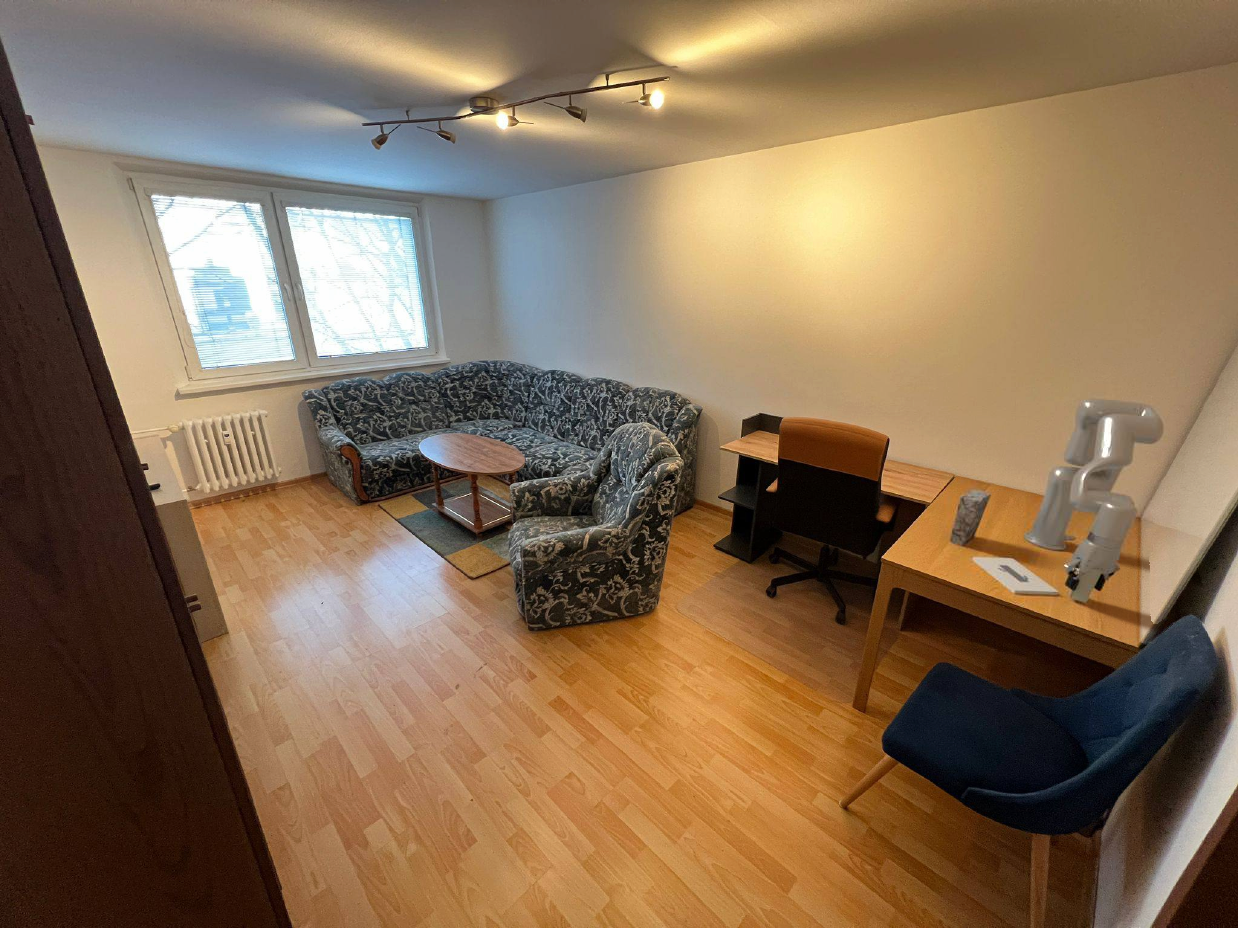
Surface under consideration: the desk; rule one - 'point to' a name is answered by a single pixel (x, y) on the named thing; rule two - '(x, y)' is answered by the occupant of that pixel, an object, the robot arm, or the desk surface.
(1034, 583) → the board
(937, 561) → the desk surface
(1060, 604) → the desk surface
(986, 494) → the stone block
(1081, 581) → the skincare box
